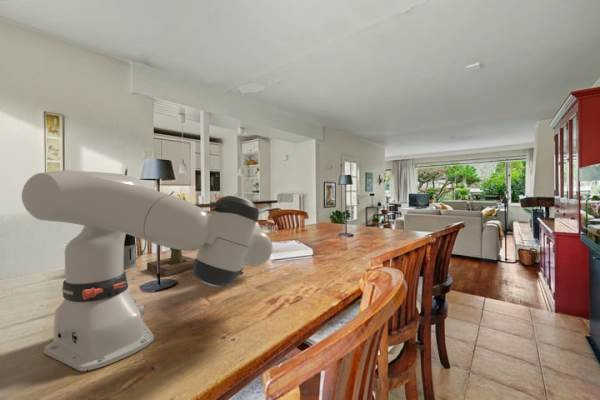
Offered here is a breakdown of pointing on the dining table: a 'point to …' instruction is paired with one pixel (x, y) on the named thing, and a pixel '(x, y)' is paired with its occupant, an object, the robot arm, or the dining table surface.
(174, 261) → the cork
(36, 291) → the dining table surface
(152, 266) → the walnut collar
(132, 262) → the glass holder
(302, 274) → the dining table surface
